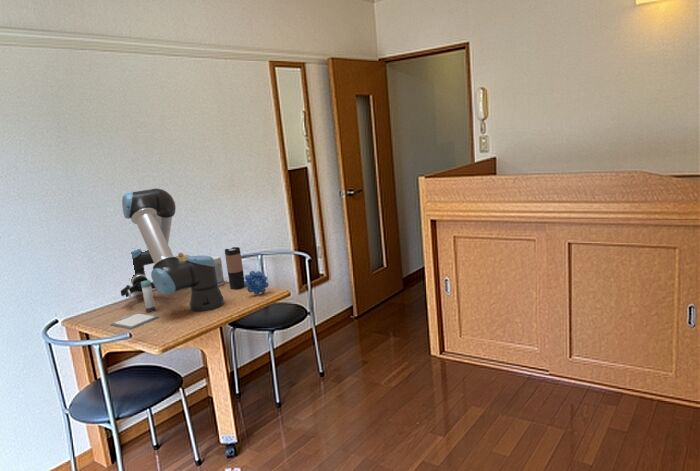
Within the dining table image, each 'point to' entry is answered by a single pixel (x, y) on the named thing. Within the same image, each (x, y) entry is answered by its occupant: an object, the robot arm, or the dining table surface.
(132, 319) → the light grey flat square
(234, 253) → the travel mug
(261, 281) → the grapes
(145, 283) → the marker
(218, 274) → the supplement tub
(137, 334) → the dining table surface
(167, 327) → the dining table surface
